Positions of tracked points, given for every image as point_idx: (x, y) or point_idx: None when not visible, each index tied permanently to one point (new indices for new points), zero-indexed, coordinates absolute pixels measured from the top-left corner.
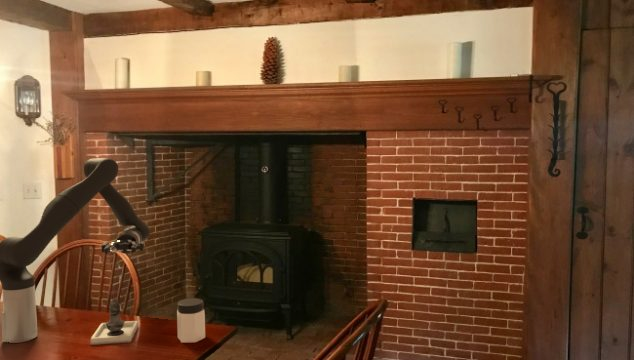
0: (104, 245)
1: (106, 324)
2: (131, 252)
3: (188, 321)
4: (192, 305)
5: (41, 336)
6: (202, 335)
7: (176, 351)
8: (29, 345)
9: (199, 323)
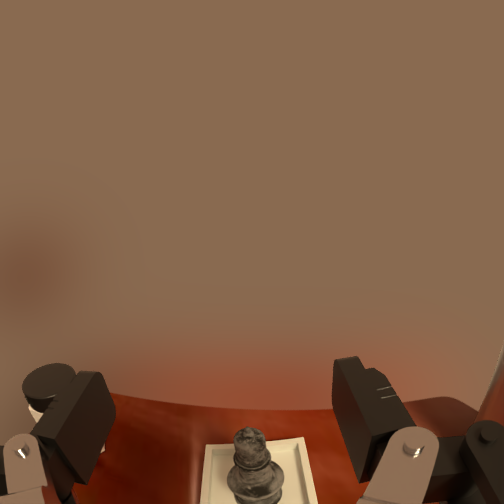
0: (464, 439)
1: (278, 465)
2: (114, 407)
3: None
4: (54, 363)
5: None
6: None
7: (122, 403)
8: (443, 428)
9: None
